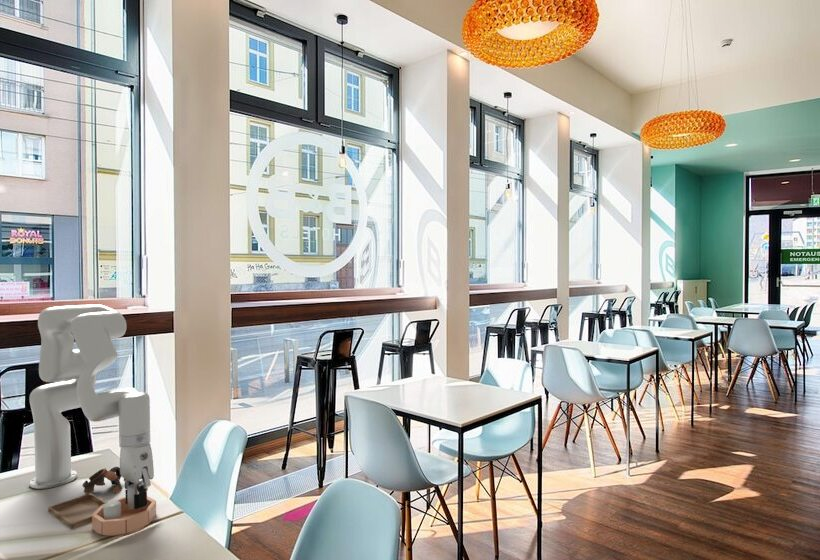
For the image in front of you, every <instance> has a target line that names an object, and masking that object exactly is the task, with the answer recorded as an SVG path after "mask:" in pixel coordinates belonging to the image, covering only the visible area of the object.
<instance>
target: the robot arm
mask: <svg viewBox="0 0 820 560" xmlns="http://www.w3.org/2000/svg"><path fill="white" fill-rule="evenodd" d="M37 329H38V330H39V334H40V339H41V341H40V343H41V345H40V354H39V362H38V375H39V378H40V379H41V380H42V381H43V382H46V384H43V385H40V386H37V387H36V388H34V389H32V391H31V392H30V394H29V405H30V409H31V414H32V419H33V431H34V432H33V433H34V434H33V435H34V436H33V437H34V466H35V467H34V471H35V472H34V473H35V474H34V475H35V476H34V477H33V478H32V479H30V480H29V487H31V488H32V489H40V490H41V489H42V490H43V489H50V488H55V487H60V486H62V485H67V484H68V483H70V482H72V481H74V480H75V479H76V478H77V477H78V473H77V471H76V470H73V469H72V455H71V454H72V452H71V451H72V447H71V446H72V443H71V442H72V441H71V440H72V439H71V438H72V437H71V424H70V422H69V420H68V419H67V418H66V417H65V416H63V414H62V412H66V411H69V410H73V409H78V408H81V409H82V412H83V414H84V416H85V417H86V419H87V420H89V421H90V422H94V423H95V422H101V421H103V422H104V421H105V420H106V421H107V420H110V419H115V418H118V442H119V445H118V446H119V448H120V450H119V451H120V452H119V468H120V474H121V478H123V482H124V490H125V491H124V492H125V497H126V504H127V487H128V486H130V485H132V484H134V485H135V494H134V509H138V508H141V507H144V506H146V505H147V496H148V493H147V492H148V490H149V487H151V485H152V484H151V483H152V482H151V480H153V479H154V478H155V472H154V471H155V470H154V469H155V468H154V456H153V451H152V450H153V449H152V446H151V407H150V406H151V404H150V403H151V399H150V395H149V393H148V392H143V391H139V390H138V389H136V387H131V386H130V387H129V386H127V387H122V388H118V389H112V390H107V391H103V392H98V393H96V391H95V387H96V381H97V374H98V373H99V372H101V371H103V370H104V369H106V368H108V367H109V366H111V365H112V364H114V363H115V361H116V360H117V358H118V352H117V349H116V348H115V345H114V342H113V340H112V339H118V338H121V337H123V336H124V335H125V334H126V331H127V321H126V319H125V317H124V316H123V314H122V313H120V312H119V311H118V310H116V309H113V308H111V307H108V306H106V305H103V304H99V303H98V304H93V303H92V304H77V305H61V306H60V305H59V306H52V307H47V308H44V309H43V310H41V311H40V313H39V315H38V319H37ZM74 344H76V347H77V348H74V346H75V345H74ZM47 382H48V383H47ZM139 484H143V485H141V486H140V487H139Z"/></svg>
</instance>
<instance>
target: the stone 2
mask: <svg viewBox="0 0 820 560" xmlns="http://www.w3.org/2000/svg"><path fill="white" fill-rule="evenodd" d="M141 485H143V483H142V484H139V487H140V486H141ZM126 490H127V508H128V509H130V510H134V494H135V485H134V484H132V485H130V486H128V487H127V489H126ZM138 509H139V508H138Z"/></svg>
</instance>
